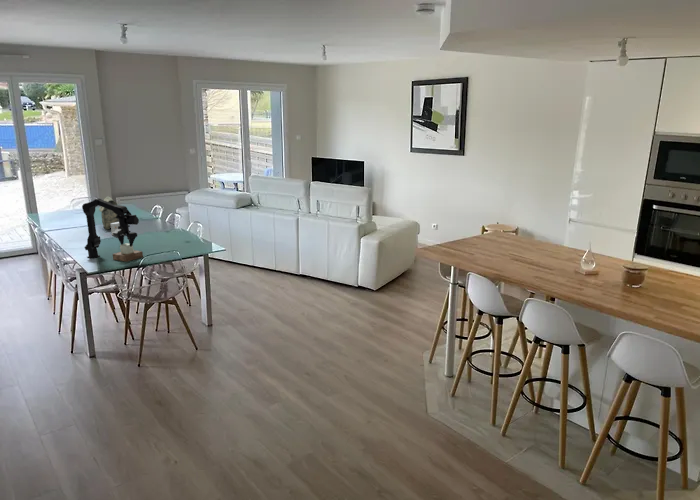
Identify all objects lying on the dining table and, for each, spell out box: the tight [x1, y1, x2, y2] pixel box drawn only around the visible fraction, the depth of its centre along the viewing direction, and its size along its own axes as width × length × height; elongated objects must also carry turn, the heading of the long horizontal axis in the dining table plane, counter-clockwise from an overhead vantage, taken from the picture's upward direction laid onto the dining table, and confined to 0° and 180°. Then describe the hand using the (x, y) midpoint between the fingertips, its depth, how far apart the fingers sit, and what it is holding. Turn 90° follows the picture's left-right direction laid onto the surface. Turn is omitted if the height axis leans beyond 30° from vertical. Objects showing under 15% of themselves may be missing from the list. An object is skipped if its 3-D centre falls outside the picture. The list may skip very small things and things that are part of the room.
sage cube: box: [119, 242, 135, 254], centre depth 362 cm, size 6×6×6 cm
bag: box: [98, 195, 119, 230], centre depth 463 cm, size 22×16×27 cm
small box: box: [110, 222, 119, 236], centre depth 434 cm, size 8×6×10 cm
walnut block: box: [112, 249, 144, 263], centre depth 363 cm, size 14×14×4 cm
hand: (126, 245), depth 361 cm, fingers open, 9 cm apart
